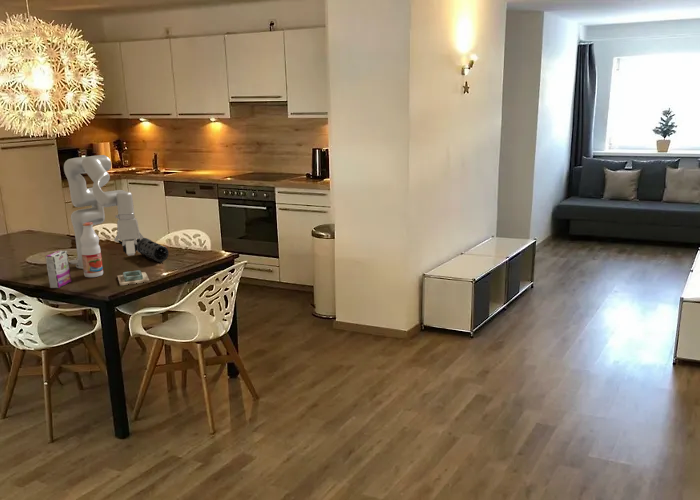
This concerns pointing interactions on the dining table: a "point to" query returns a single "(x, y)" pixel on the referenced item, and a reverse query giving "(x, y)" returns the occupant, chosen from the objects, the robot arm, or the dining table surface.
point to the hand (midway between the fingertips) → (130, 252)
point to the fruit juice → (91, 252)
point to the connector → (130, 247)
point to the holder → (132, 277)
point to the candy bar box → (58, 269)
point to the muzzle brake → (152, 250)
